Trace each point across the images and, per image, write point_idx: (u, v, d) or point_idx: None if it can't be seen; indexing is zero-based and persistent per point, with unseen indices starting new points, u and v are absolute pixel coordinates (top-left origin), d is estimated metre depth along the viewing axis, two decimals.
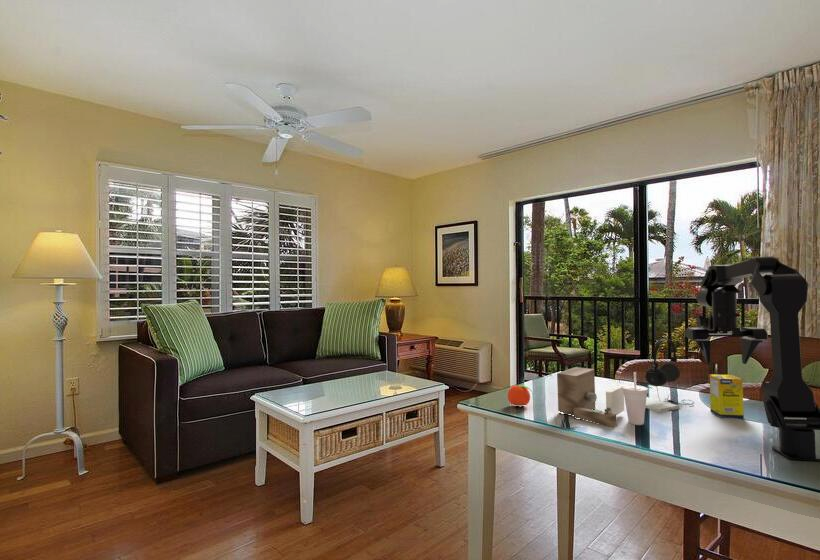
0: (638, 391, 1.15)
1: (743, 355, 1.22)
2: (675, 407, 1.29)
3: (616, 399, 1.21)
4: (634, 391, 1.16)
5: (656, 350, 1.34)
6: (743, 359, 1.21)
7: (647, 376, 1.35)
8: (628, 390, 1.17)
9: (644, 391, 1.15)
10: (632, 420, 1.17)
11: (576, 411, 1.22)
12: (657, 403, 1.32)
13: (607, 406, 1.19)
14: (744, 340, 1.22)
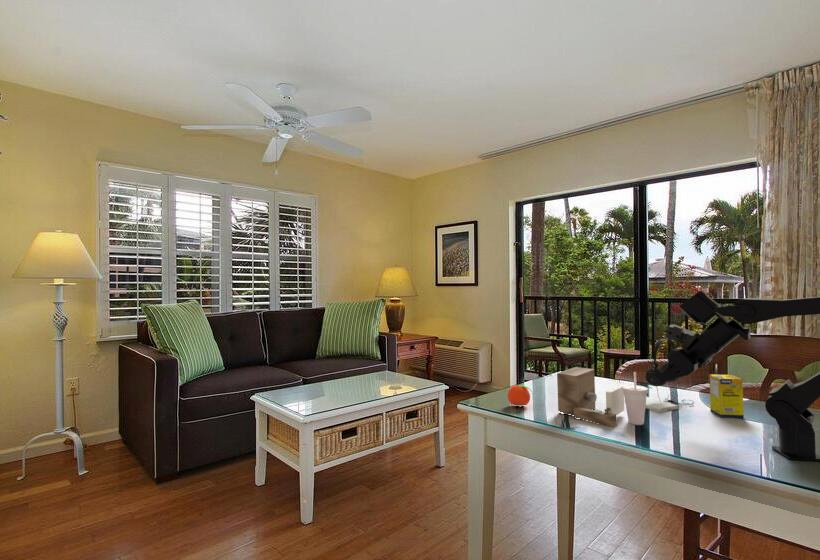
0: (638, 391, 1.15)
1: None
2: (674, 407, 1.29)
3: (616, 399, 1.21)
4: (634, 391, 1.16)
5: (656, 350, 1.34)
6: None
7: (647, 376, 1.35)
8: (628, 390, 1.17)
9: (644, 391, 1.15)
10: (632, 420, 1.17)
11: (576, 411, 1.22)
12: (657, 403, 1.32)
13: (607, 406, 1.19)
14: None
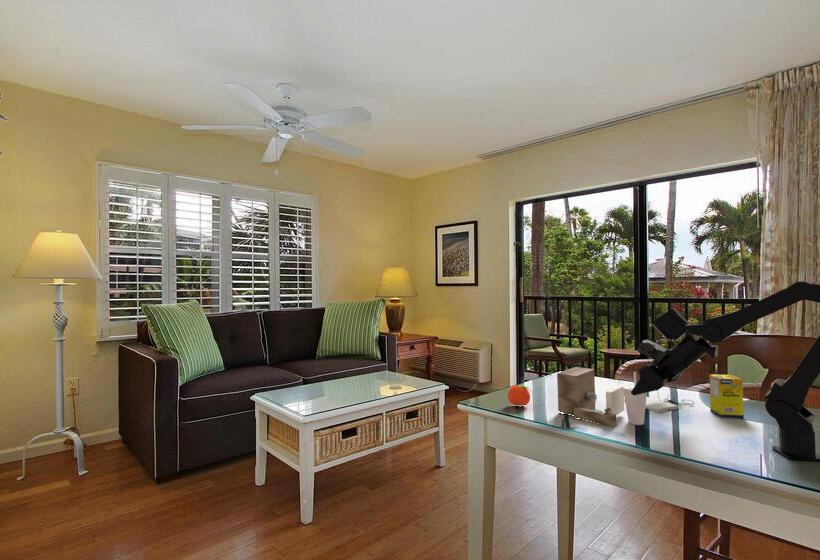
0: None
1: None
2: (674, 407, 1.29)
3: (616, 399, 1.21)
4: None
5: None
6: None
7: None
8: (628, 390, 1.17)
9: None
10: (632, 420, 1.17)
11: (576, 411, 1.22)
12: (656, 403, 1.32)
13: (607, 406, 1.19)
14: None
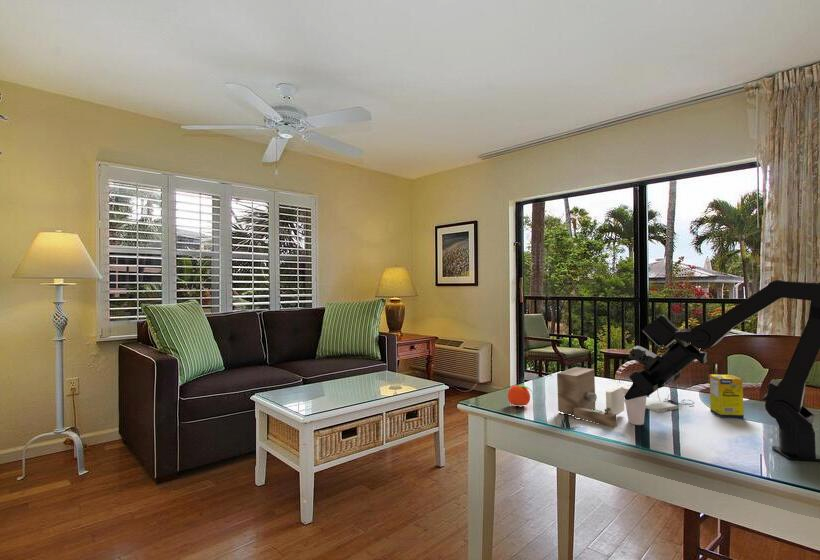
0: None
1: None
2: (674, 407, 1.29)
3: (616, 399, 1.21)
4: None
5: (656, 350, 1.34)
6: None
7: None
8: None
9: None
10: (632, 420, 1.17)
11: (576, 411, 1.22)
12: (656, 403, 1.32)
13: (607, 406, 1.19)
14: None
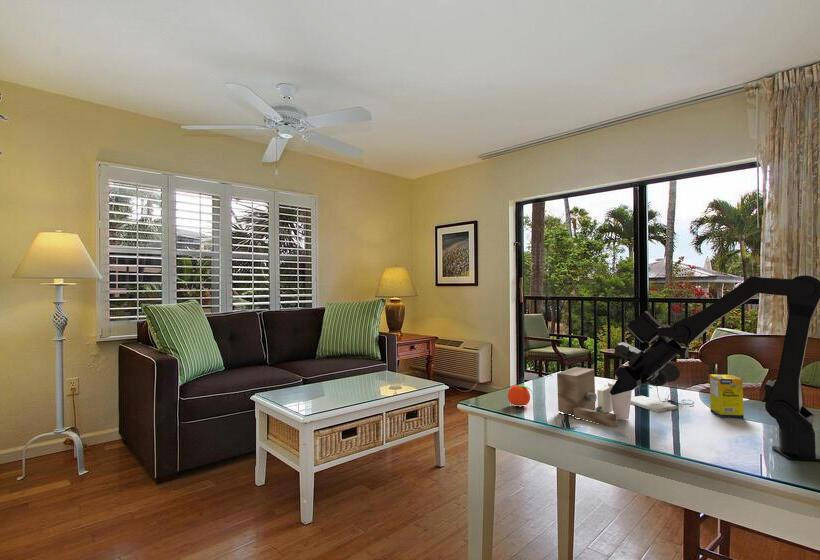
0: None
1: None
2: (673, 407, 1.29)
3: (607, 398, 1.22)
4: None
5: None
6: None
7: None
8: (613, 385, 1.19)
9: None
10: (617, 415, 1.20)
11: (576, 411, 1.22)
12: (655, 403, 1.32)
13: (598, 404, 1.21)
14: None
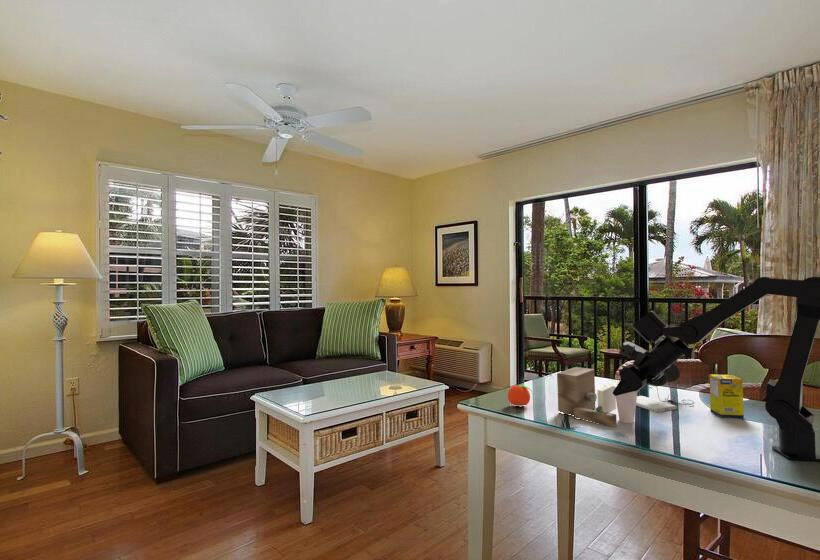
0: None
1: None
2: (672, 407, 1.29)
3: (607, 398, 1.22)
4: None
5: None
6: None
7: None
8: None
9: None
10: (623, 418, 1.19)
11: (576, 411, 1.22)
12: (654, 403, 1.32)
13: (598, 404, 1.21)
14: None
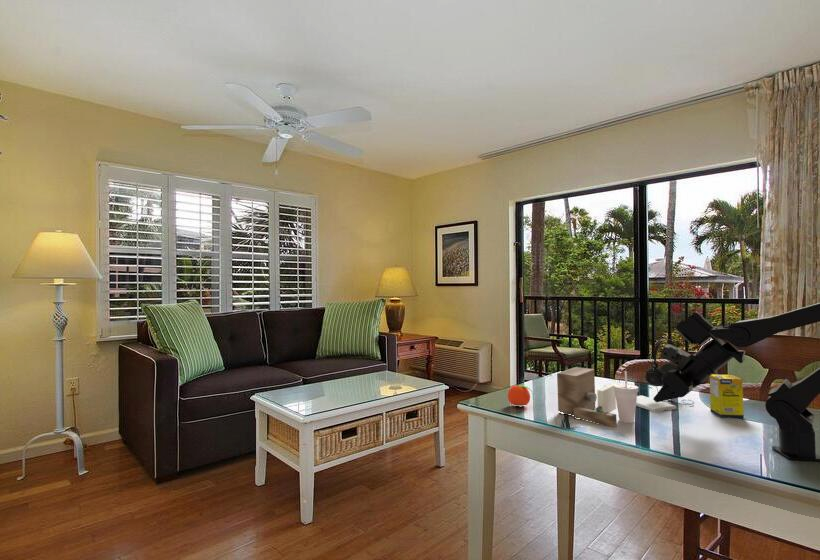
0: (629, 390, 1.17)
1: None
2: (671, 407, 1.29)
3: (607, 398, 1.22)
4: (625, 390, 1.17)
5: (656, 350, 1.34)
6: None
7: (647, 376, 1.35)
8: (619, 389, 1.18)
9: (634, 389, 1.17)
10: (623, 418, 1.19)
11: (576, 411, 1.22)
12: (654, 403, 1.32)
13: (598, 404, 1.21)
14: None
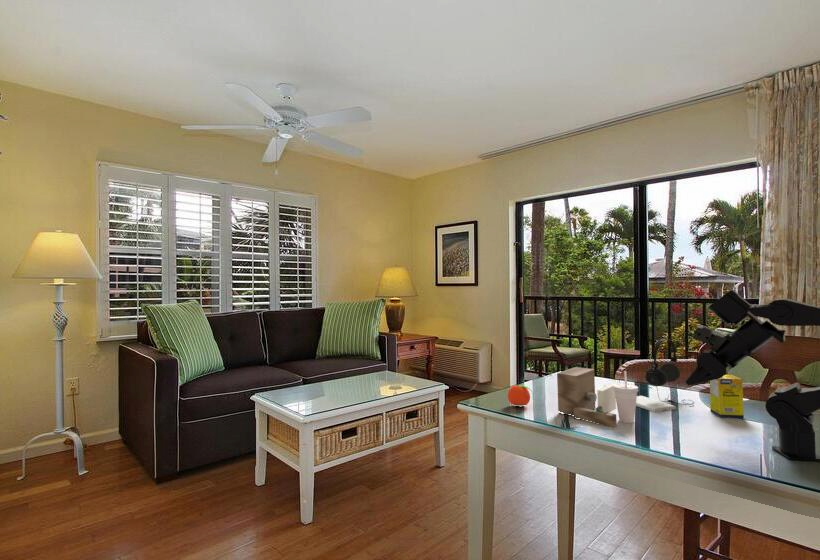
0: (628, 390, 1.17)
1: None
2: (671, 407, 1.29)
3: (607, 398, 1.22)
4: (625, 390, 1.17)
5: (656, 350, 1.34)
6: None
7: (647, 376, 1.35)
8: (619, 389, 1.18)
9: (634, 389, 1.17)
10: (623, 418, 1.19)
11: (576, 411, 1.22)
12: (653, 403, 1.32)
13: (598, 404, 1.21)
14: None
